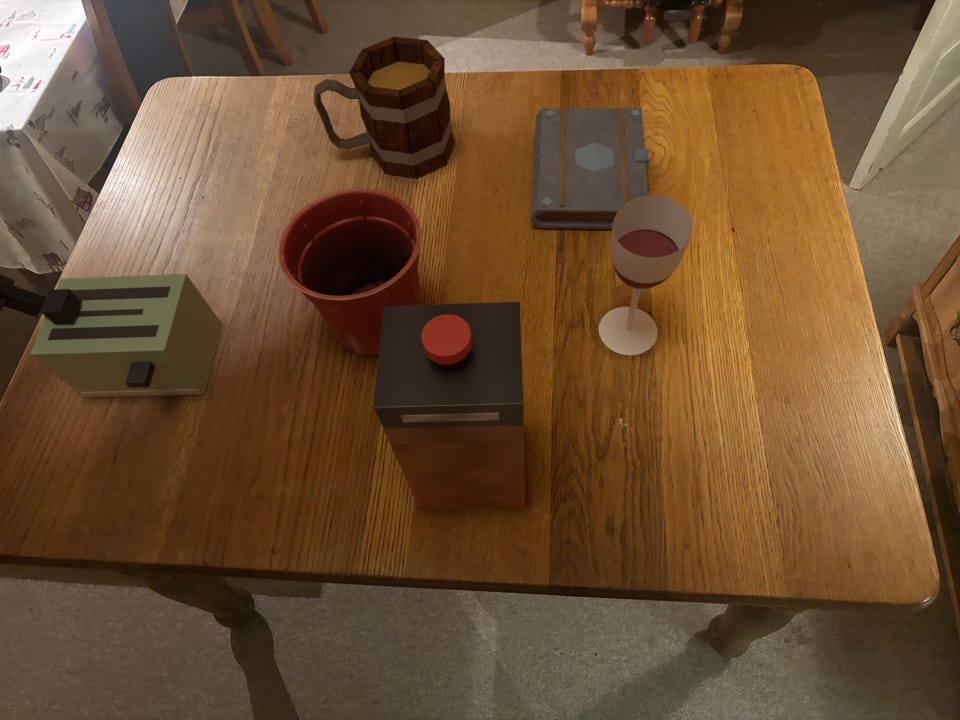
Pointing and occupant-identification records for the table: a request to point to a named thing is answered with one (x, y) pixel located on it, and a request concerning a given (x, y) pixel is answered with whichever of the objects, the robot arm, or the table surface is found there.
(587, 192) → the book
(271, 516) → the table surface
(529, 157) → the table surface
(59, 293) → the slider
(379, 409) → the red button pedestal
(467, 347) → the timer button
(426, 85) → the mug
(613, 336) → the wineglass
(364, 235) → the flower pot
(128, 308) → the toaster
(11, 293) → the robot arm
